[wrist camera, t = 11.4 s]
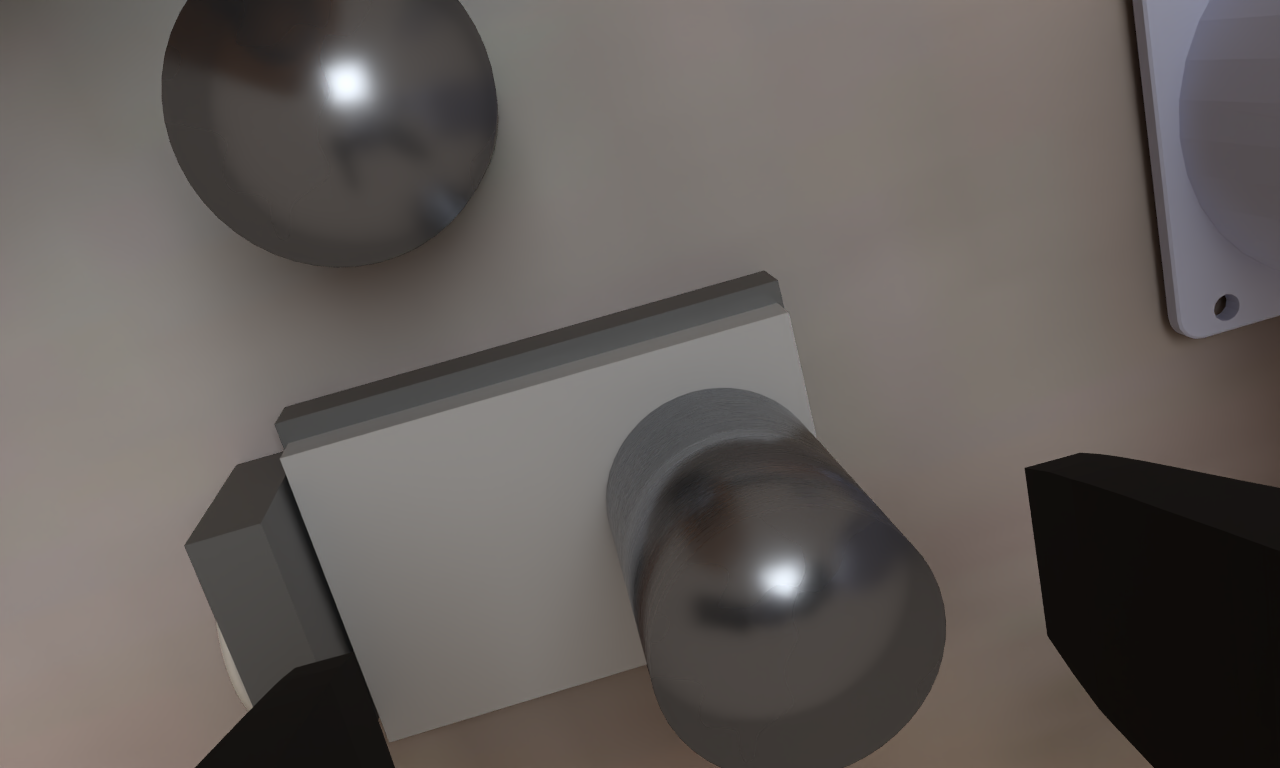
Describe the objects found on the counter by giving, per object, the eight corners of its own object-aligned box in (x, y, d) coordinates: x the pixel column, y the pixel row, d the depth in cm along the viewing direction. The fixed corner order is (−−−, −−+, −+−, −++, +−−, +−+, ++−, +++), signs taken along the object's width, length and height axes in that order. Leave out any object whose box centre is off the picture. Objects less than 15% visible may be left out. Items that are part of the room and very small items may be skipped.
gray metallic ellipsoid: (799, 360, 19) (917, 469, 14) (843, 560, 20) (968, 729, 15) (579, 424, 19) (615, 559, 14) (637, 622, 20) (690, 816, 15)
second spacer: (463, -33, 18) (448, -103, 13) (523, 201, 19) (531, 225, 14) (228, 21, 18) (114, -28, 13) (301, 255, 19) (222, 301, 14)
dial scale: (764, 270, 20) (820, 310, 17) (833, 576, 22) (896, 668, 19) (204, 430, 20) (144, 504, 16) (325, 729, 22) (294, 853, 18)
